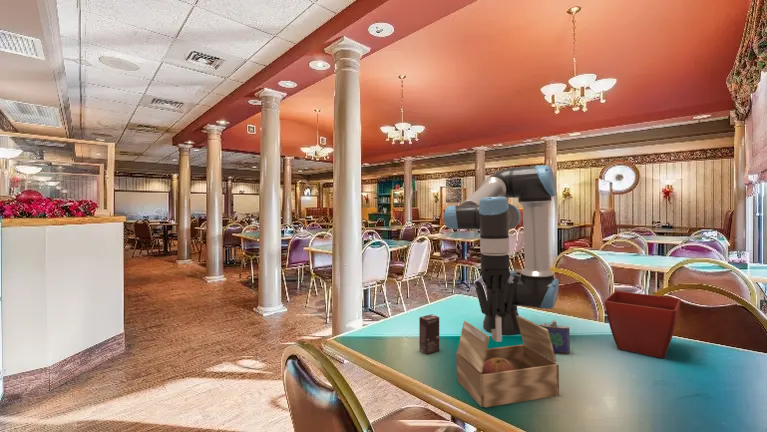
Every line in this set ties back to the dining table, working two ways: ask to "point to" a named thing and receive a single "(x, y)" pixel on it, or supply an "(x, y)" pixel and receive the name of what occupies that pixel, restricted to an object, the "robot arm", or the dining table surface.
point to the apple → (497, 366)
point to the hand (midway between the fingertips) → (496, 339)
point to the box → (429, 333)
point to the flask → (559, 337)
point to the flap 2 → (536, 338)
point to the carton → (510, 377)
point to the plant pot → (642, 322)
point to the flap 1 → (473, 345)
